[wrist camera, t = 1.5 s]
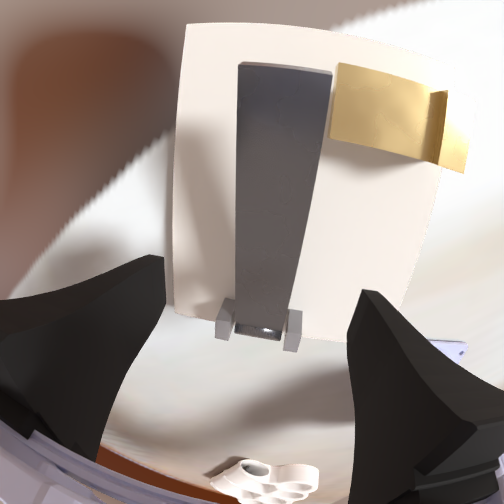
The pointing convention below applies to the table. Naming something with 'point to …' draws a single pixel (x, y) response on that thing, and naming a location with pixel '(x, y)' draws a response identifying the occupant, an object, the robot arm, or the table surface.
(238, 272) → the dark grey flat bar
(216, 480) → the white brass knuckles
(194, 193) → the board
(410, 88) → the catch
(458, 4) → the table surface
